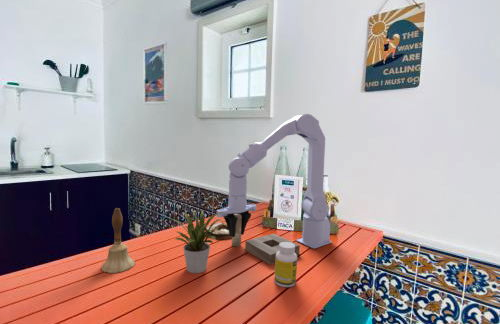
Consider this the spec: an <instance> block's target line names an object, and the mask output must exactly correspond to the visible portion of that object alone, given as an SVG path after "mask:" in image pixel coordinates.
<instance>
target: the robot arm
mask: <svg viewBox="0 0 500 324" xmlns="http://www.w3.org/2000/svg"><path fill="white" fill-rule="evenodd" d="M294 135H297V136H299V137H302V139H304V140H305V142H307V143H308V156H307V157H308V158H307V178H306V181H307V182H306V185H307V186H306V188H307V189H305V192H304V194H303V195H304V196H303V199H302V201H301V208H302V210H303V211H304V212H303V215H302V216H303V217H302V233H301V234H302V236H301V238H297V239H296V242H297V243H300V244H303V245H305V246H306V247H309V248H311V249H317V248H321V247H323V246H326V245H329V244H332V240H330V238H331V237H330V236H331V222H330V219H329V218H328V217H327V216H328V215H329V207H328V206H329V205H327V197H326V195H325V192H324V175H325V174H324V172H325V152H326V151H325V150H326V137H325V134H324V132H323V130H322V129H321V126H320V122H319V119H317V118H316V117H315V116H313V115H312V114H309V113H304V114H301V115H299V114H297V115H294V116H293V117H291V119H289V120H286V121H285V122H284V123H282V124H281V125H280V126H279V127H277V128H276V129H275V130H274V131H273V132H271V134H269V135H268V136H267V137H266V138H265V139H263V140H262V141H261V142H258V141H256V142H254V143H252V142H251V143H249V144H248V147H247V148H246V149H244V151H242V152H241V153H240V152H239V153H238V154H237V156H238V157H234V158H232V159H231V160H230V161H229V164H228V169H229V172H230V173H229V180H228V206H227V207H224V208H220V209H218V210H216V213H219V212H221V213H219V214H217V215H216V217H218V219H222V218H223V220H224V221H225V223H227V226H228V230H229V234H230V236H232V237H235V227H236V222H237V219H238V218H236V217H235V215H234V214H240V215H242V222H241V236H242V235H244V233H245V229H246V227H247V224H248V223H249V220H250V219H251V217H252V214H251V213H250V212H256V211H257V205H256V204H254V203H253V204H251V203H250V204H247V189H248V188H247V185H248V183H247V182H248V181H247V174H248V173H249V170H250V169H252V168H253V167H254V166H255V165H257V164H259V162H261V161H262V160H264V158H266V156H267V154H268V150H270V149H271V148H272V147H274V146H275V145H276V144H278V143H279V142H280V141H282V140H283V139H284V138H286V137H287V136H294Z"/></svg>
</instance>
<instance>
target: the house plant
mask: <svg viewBox="0 0 500 324" xmlns="http://www.w3.org/2000/svg"><path fill="white" fill-rule="evenodd" d="M191 211H192V213H193V215H194V218H195V224H196V225H195V226H194V223H193V218H191V217H190V216H189V215H188V213H186V212H183V213H184V216H185V219H186V222H187V225H185V226H184V225H183V224H182V223H181V222H179V221H178V220H175V219H171V218H170V220H171V221H174V222H177V223H178V224H179V225H180V226H181V227H182V228H184V230H185V231H186V233H187V234H188V235H189V236H188V235H186V234H185V233H183V232H180V231H177V230H176V233H178V234H179V235H180V236H181V237H176V238H175V240H177V241H181V242H183V243H185V245H183V253H184V260H185V266H186V271H187V272H188V273H191V274H200V273H203V272H205V271H206V270H207V265H208V259H209V255H210V249H211V245H210V244H209V243H211V244H214V242H213V240H214V241H215V242H216V239H217V238H216V237H215V236H210V235H211V234H212V232H213V231H215V230H216V229H217V228H215V229H213V230H210V228H211V227H212V226H213V224H215V223H218V222H222V218H218V219H216V220H214V221H213V222H212V223H211V224H210V225H211V226H210V225H209V223H210V222H211V221H212V220H213V219H214V218H215V217H217V214H219V213H221V212H219V213H217V212H216V213H214V214H213V215H211V216H210V217H209V218H208V219H207V217H205V213H204V209H202V210H201V213H200V216H199V219H198V215H197V214H196V212H195V210H193V209H191ZM206 219H207V221H206V222H205V220H206ZM208 226H210V227H208ZM207 227H208V228H209V229H208V230H206V231H205V229H206V228H207ZM218 228H220V227H218ZM209 231H211V232H210V233H209V234H208V232H209ZM207 234H208V235H207ZM211 239H213V240H211Z"/></svg>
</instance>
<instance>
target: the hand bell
mask: <svg viewBox="0 0 500 324" xmlns="http://www.w3.org/2000/svg"><path fill="white" fill-rule="evenodd" d="M112 213H113V214H112V216H111V217H112V218H111V224H112V228H113V232H114V233H113V234H114V239H113V241H114V242H113V245H111V246H109V248H108V251H107V258H106V260H105V262H104V263H102V265H101V267H100V270H101V269H102V270H101V271H102V272H103V271H104V273H106V272H107V274H117V273H121V272H126V271H127V270H131V269H132V268H133V267H134V266H135V264H136V262H135V260H134V259H133V258H132V257H130V255H129V251H128V246H127V244H124V243H122V227H123V224H124V223H123V221H124V220H123V215H122V214H123V213H122V211H121V208H120V207H119V208H118V207H115V208H114V210H113V212H112Z"/></svg>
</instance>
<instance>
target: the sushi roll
mask: <svg viewBox="0 0 500 324" xmlns="http://www.w3.org/2000/svg"><path fill="white" fill-rule="evenodd" d="M210 226H211V224H210V225H207V227H206V229H205V231H206V230H208V229H209V228H208V227H210ZM218 227H220V228H218ZM215 228H217V229H216V230H215V231H213V232H212V234H211V235H210V236H215V237H216V239H217V240H229V239H232V236H230V234H229V230H228V226H227V223H226V222H216V223H214V224H213V226H212V227H211V228H210V230H213V229H215ZM205 231H204V232H205ZM210 232H211V231H209V232H208V234H209V233H210ZM208 234H207V235H206V236H208ZM210 236H209V237H210Z"/></svg>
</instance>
